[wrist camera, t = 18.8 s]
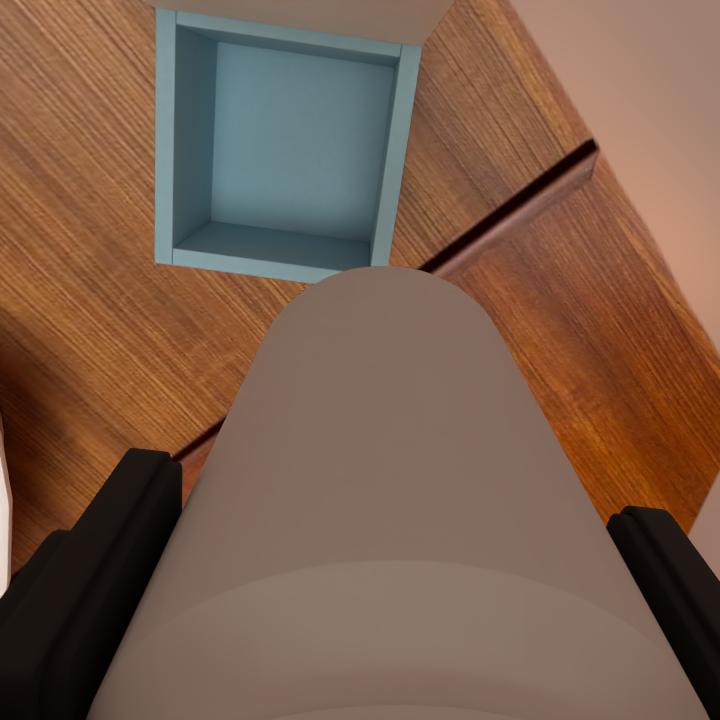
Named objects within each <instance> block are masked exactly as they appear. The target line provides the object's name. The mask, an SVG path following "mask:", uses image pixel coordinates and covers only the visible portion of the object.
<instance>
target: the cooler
mask: <svg viewBox="0 0 720 720" xmlns="http://www.w3.org/2000/svg"><path fill="white" fill-rule="evenodd" d="M421 51H422V46H414V45H407V44H400V43H393V42H387V41H380V40H373V39H366V38H360V37H353V36H346V35H339V34H333V33H326V32H319V31H312V30H306V29H299V28H292V27H285V26H278V25H272V24H265V23H258V22H251V21H245V20H238V19H231V18H224V17H218V16H211V15H204V14H197V13H191V12H184V11H177V10H170V9H163V8H157V7H156V66H155V263H160V264H167V265H172V264H173V265H176V266H183V267H191V268H198V269H206V270H213V271H221V272H228V273H235V274H243V275H250V276H258V277H265V278H273V279H280V280H288V281H295V282H303V283H310V284H315V283H317V282H319V281H321V280H323V279H325V278H327V277H329V276H332V275H334V274H337V273H340V272H344V271H347V270H351V269H355V268H362V267H370V266H389V260H390V253H391V247H392V240H393V234H394V227H395V221H396V214H397V208H398V201H399V195H400V188H401V182H402V175H403V169H404V162H405V156H406V149H407V143H408V136H409V130H410V123H411V117H412V110H413V103H414V97H415V90H416V84H417V77H418V71H419V64H420V58H421Z"/></svg>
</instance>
